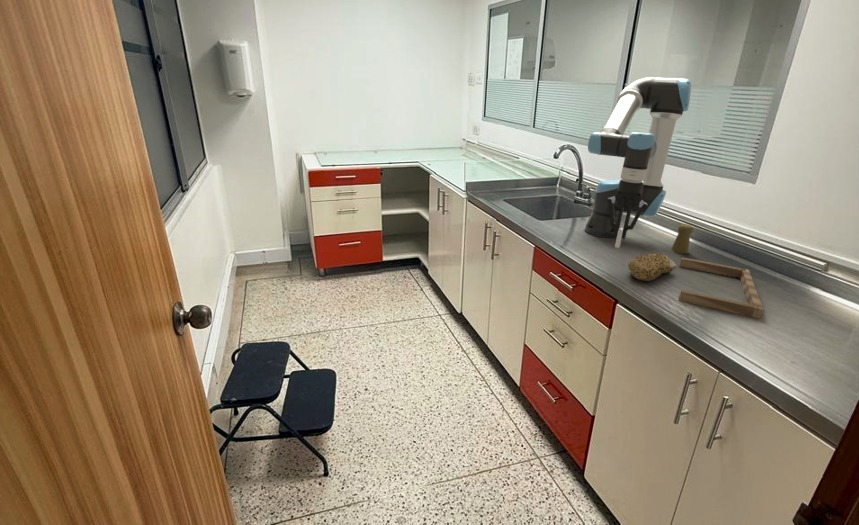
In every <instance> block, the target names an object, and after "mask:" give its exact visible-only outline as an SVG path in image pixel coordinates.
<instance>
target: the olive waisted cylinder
mask: <svg viewBox="0 0 859 525" xmlns="http://www.w3.org/2000/svg"><path fill="white" fill-rule="evenodd" d="M677 231H678V233H677V236H676V237H675V240H674V242H673V245H672V247H671V252H674V253H678V254H682V253H686V254H688V253H689V247H690V240H691V235H692V233H693V232H694V227H693V226H692V225H690V224H688V223H687V224H685V223H683V224H679V226H678V228H677Z"/></svg>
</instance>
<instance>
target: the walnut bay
mask: <svg viewBox="0 0 859 525" xmlns="http://www.w3.org/2000/svg"><path fill="white" fill-rule="evenodd" d="M678 265H679V267H681V268H684V269H685V268H686V269H691V270H697V271H701V272H706V273H707V272H708V273H711V274H716V275H717V274H718V275H721V274H723V276H726V275H729V276H728V277H731V276H732V278H736V277H738V279H741V280H740V283H741V286H743V287H742V290H743V289H744V290H743V293H744V292H745V293H744V295H745V296H744V297H745V299H747V300H746V302H748V303H746V302H741V301H737V300H734V299H729V298H728V299H727V298H723V297H719V296H714V295H709V294H705V293H700V292H695V291H691V290H685V289H681V291H680V294H679V297H678V301H680V302H684V303H689V304H694V305H696V306H702V307H707V308H711V309H715V310H720V311H724V312H728V313H729V312H730V313H733V314H738V315H742V316H747V317H750V318H751V317H752V318H755V319H761V318H762V315H763V312H764V308H763V304H762V302H761V299H760V296H759V294H758V291H757V289H756V286H755V283H754V280H753V278H752V275H751V272H750V270H749V269H746V268H741V267H736V266H730V265H725V264H720V263H715V262H708V261H705V260H698V259H693V258H687V257H680V261H679V264H678Z"/></svg>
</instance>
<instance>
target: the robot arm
mask: <svg viewBox="0 0 859 525" xmlns="http://www.w3.org/2000/svg"><path fill="white" fill-rule="evenodd" d="M691 92H692V83H691V80H690V79H688V78H680V77H653V76H652V77H651V76H649V77H648V76H647V77H644V78H640V79H637V80H635V81H634V82H632V83H629V85H628V86H626V87H625V88H624V89H623V90H621V92H620V93H619V95H618V97H617V100H616V105H615V107H614V108H613V111H612V112H611V113H610V116H609V117H608V119H607V121H606V123H605V124H604V126H603V128H602V129H601V131H597V132H595V131H594V132H593V133H591V134H590V136H589V138H588V142H587V150H588V152H589V153H590V154H594V155H598V156H609V157H618V158H624V160H623V165H622V168H621V172H620V179H606V180H601V181H600V182H598V183H597V185H596V190H595V194H594V201H593V206H592V212H591V214H590V216H589V218H588V220H587V221H586V223H585V227H584V230H585V232H587V233H588V234H589V235H593V236H598V237H603V238H616V239H615V244H614V248H617V249H620V247H621V243H622V239H623V240H625V239H626V237H627V232H628V231H629V230H634V228H635V226H636V225H637V222H638V220H639V218H640V217H647V218H654V217H656V216H657V215H658V213H659V211H660V209H661V207H662V204H663V202H664V200H665V197H666V194H667V191H666V190H665V189H664V184H663V183H662V178H663V174H664V170H665V166H666V161H667V157H668V154H669V150H670V146H671V142H672V139H673V134H674V132H675V131H674V130H675V127H676V123H677V120H679V119H680V118H681V117H682V116H683V113H684V112H687V111H688V110H689V107H690V100H691ZM640 109H647V110H649V114H650V116H651V117H652V119H651V123H650V124H651V125H650V128H649V132H641V131H640V132H639V131H638V132H637V131H633V132H630V134H629V135H626V134H625V133H626V130H627V129H628V126H629V124H630V123H631V120H632V119H633V117H634V116H635V113H636V112H638V111H639V110H640ZM623 213H625V214H626V215H625V219H624V224H623V227H622V226H621V223H622V219H623V218H622V217H623ZM631 215H634V217H633V220H632V221H631V223H630V218H631ZM629 223H630V224H629Z"/></svg>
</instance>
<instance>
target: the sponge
mask: <svg viewBox="0 0 859 525" xmlns="http://www.w3.org/2000/svg"><path fill="white" fill-rule="evenodd" d="M627 267H628V269H629V271H630V273H631V275H632V276H633V277H634V278H636V279H637V280H640V281H644V282H649V281H653V280H655V279H658V277H659V276H661V275H662V274H668V273H671V272H673V271H674V270H675V269H676V268H677V265H676V263H675V262H674V260H673V259H671V258H670V257H668V256H667V255H665V254H662V253H648V254H645V255H644V254H642V255H640V256H637V257H635V258H633V259H631V260H630V261H629V263H628V266H627Z"/></svg>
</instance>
